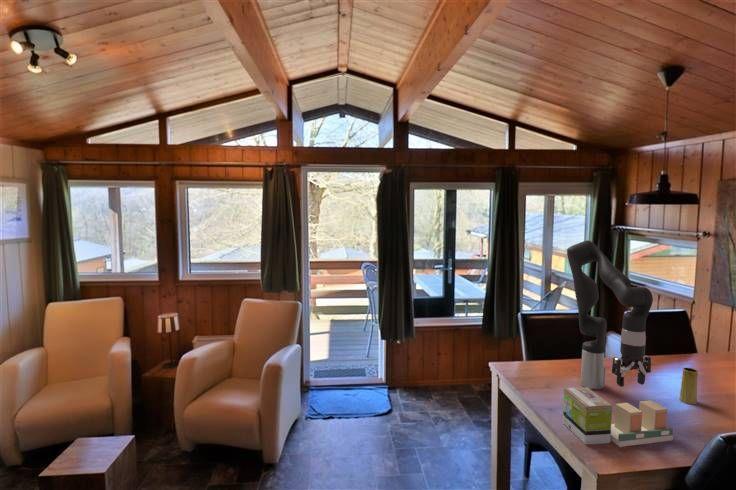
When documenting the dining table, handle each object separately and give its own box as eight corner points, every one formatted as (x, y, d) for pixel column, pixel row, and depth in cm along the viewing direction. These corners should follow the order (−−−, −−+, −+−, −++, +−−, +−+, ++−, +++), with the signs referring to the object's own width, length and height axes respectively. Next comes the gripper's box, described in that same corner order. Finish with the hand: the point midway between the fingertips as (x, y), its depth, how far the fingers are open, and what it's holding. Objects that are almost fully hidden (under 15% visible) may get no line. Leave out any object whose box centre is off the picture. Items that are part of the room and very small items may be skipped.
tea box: (561, 423, 164) (563, 387, 162) (586, 422, 165) (587, 386, 163) (584, 445, 149) (586, 405, 147) (611, 444, 150) (613, 404, 148)
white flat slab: (647, 424, 162) (647, 414, 162) (672, 440, 152) (673, 429, 151) (597, 430, 158) (597, 419, 158) (620, 447, 147) (620, 435, 147)
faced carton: (649, 422, 160) (650, 400, 159) (666, 432, 153) (667, 409, 152) (638, 424, 159) (639, 401, 158) (654, 434, 152) (656, 410, 151)
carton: (625, 425, 158) (627, 402, 157) (641, 435, 151) (643, 411, 150) (614, 426, 157) (615, 403, 157) (629, 437, 150) (631, 413, 149)
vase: (693, 399, 184) (695, 368, 183) (699, 405, 178) (701, 373, 177) (677, 397, 186) (679, 366, 185) (682, 403, 180) (684, 371, 179)
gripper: (641, 337, 156) (638, 379, 158) (607, 339, 153) (605, 382, 155) (658, 343, 149) (656, 387, 150) (624, 346, 146) (621, 391, 148)
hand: (630, 384), depth 153 cm, fingers open, 8 cm apart
